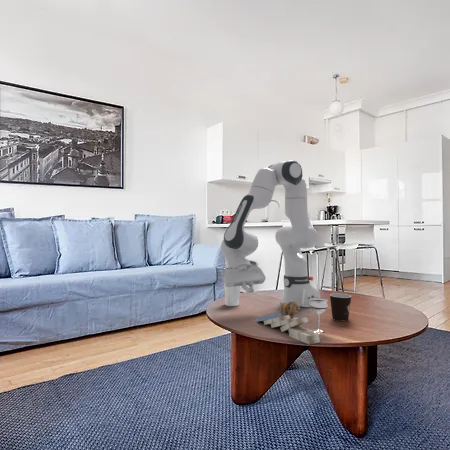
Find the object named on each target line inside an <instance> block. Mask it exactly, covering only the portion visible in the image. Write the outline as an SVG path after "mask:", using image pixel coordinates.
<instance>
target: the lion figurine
mask: <svg viewBox="0 0 450 450" xmlns="http://www.w3.org/2000/svg"><path fill="white" fill-rule="evenodd" d="M300 309H301V307H299V306H298V305H297V304H296V302H293V301H292V302H289V303H288V304H287V303H285V302H284V303H281V305H280V313H281V315H282V316H286V315H289V316H290V319H291V318H294V316H295V314H297V312H299V311H300ZM283 314H284V315H283Z"/></svg>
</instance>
